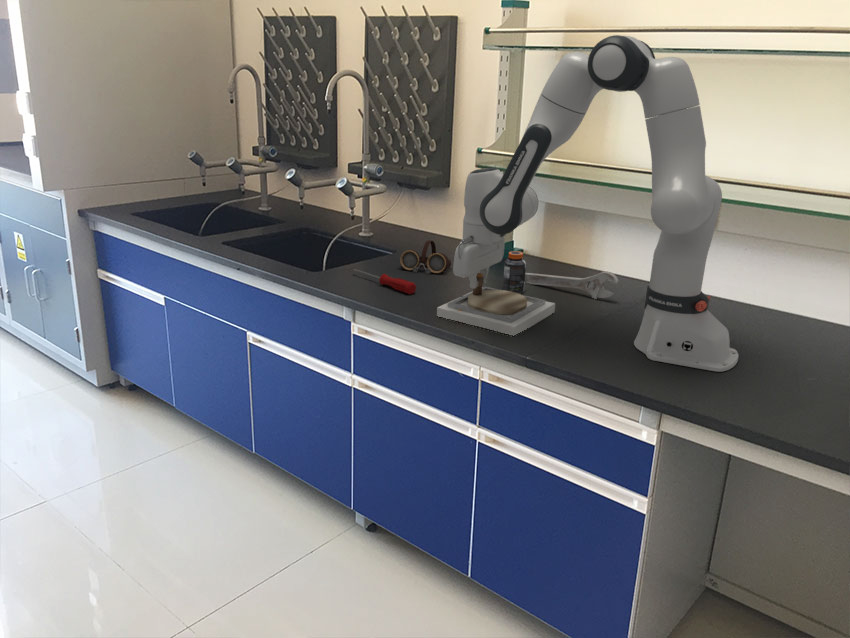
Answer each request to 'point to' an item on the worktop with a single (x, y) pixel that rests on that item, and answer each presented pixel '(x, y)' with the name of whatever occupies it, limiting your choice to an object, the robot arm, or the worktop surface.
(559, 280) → the wrench
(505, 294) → the dial
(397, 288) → the screwdriver
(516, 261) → the pill bottle
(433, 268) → the goggles
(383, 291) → the worktop surface
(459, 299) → the control plate
